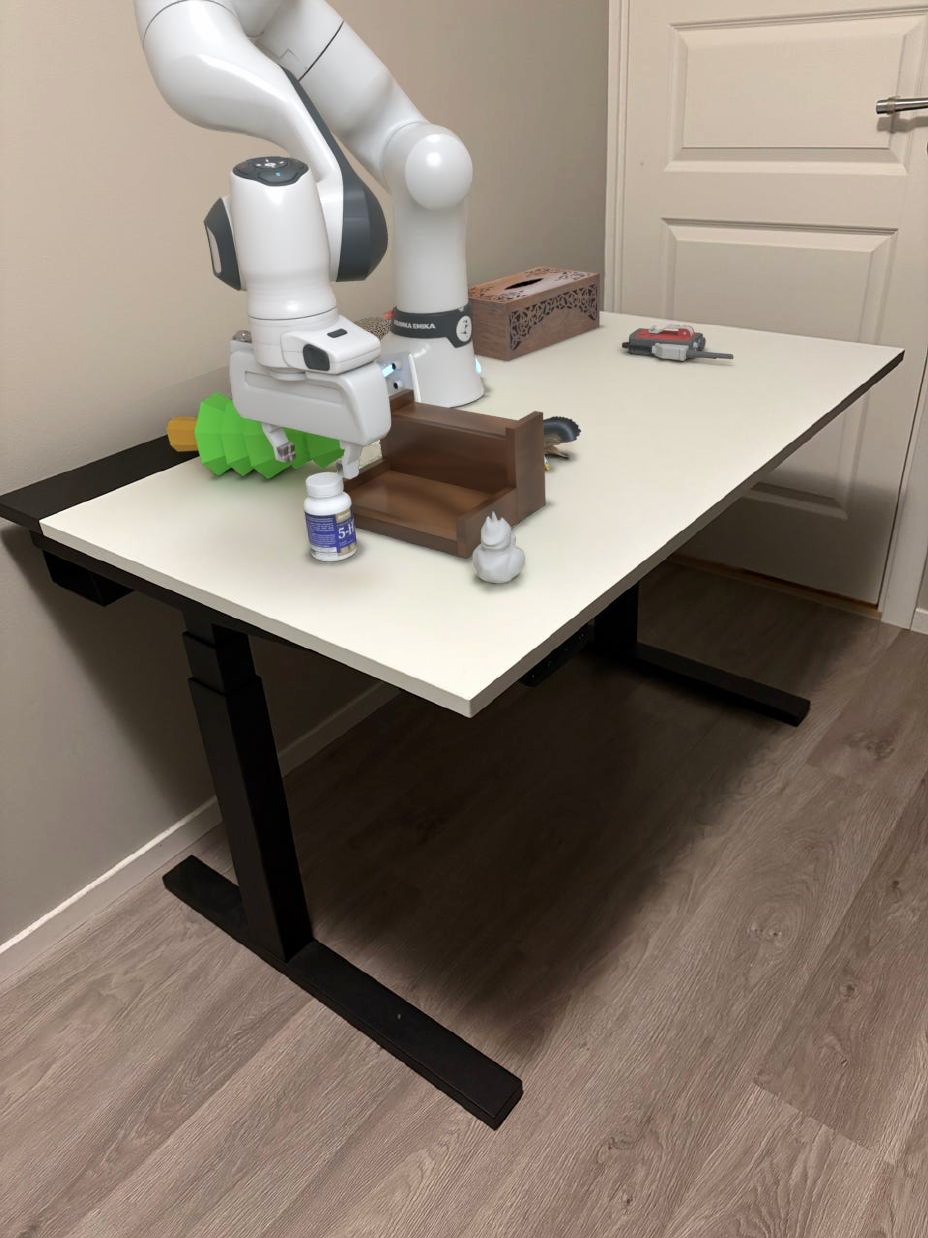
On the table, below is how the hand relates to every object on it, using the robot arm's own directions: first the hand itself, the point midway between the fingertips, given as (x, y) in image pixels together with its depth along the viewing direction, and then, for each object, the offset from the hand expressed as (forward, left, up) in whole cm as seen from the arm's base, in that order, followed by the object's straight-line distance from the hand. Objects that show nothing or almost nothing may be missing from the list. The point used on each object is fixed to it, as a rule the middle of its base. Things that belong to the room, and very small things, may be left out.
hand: (316, 468), depth 102 cm
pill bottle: (0, 0, -10) cm, 10 cm away
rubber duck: (+20, +5, -10) cm, 23 cm away
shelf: (+4, +14, -10) cm, 18 cm away
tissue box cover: (-28, +83, -11) cm, 89 cm away
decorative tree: (-23, +13, -10) cm, 28 cm away
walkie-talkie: (+2, +84, -10) cm, 85 cm away
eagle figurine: (+7, +32, -10) cm, 35 cm away
